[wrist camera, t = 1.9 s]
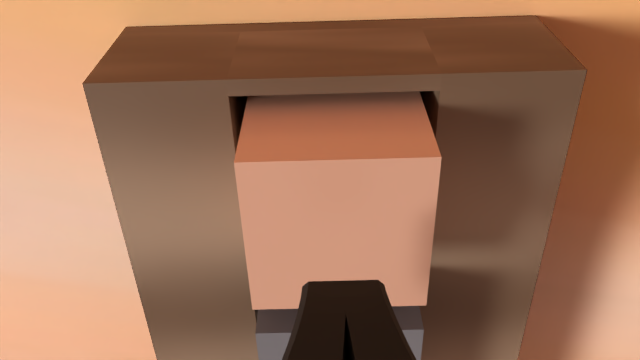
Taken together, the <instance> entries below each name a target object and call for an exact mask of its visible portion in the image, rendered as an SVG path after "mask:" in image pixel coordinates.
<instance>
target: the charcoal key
mask: <svg viewBox="0 0 640 360" xmlns="http://www.w3.org/2000/svg"><path fill="white" fill-rule="evenodd" d="M392 309H393V311H394V314H395V316H396V318H397V320H398V323H399V325H400V327H401V329H402V331H403V334H404V336H405V338H406V340H407V342H408V344H409V346H410V348H411V350H412V352H413V354H414V356H415V358H416V360H421V352H422V343H423V333H424V328H423V323H422V318H421V313H420V308H419V306H392ZM297 312H298V309H260V310H258V314H257V323H256V332H255V335H256V343H257V351H258V358H259V360H282V358H283V355H284V353H285V350H286V347H287V345H288V341H289V338H290V335H291V332H292V329H293V326H294V323H295V319H296V316H297Z"/></svg>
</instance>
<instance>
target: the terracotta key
mask: <svg viewBox="0 0 640 360" xmlns="http://www.w3.org/2000/svg"><path fill="white" fill-rule="evenodd" d="M441 159H442V157H441V154H440V151H439V148H438V145H437V142H436V139H435V136H434V133H433V130H432V127H431V124H430V121H429V118H428V115H427V112H426V109H425V106H424V103H423V100H422V98H421V95H420V92H419V91H408V92H371V93H334V94H297V95H260V96H248V98H247V103H246V107H245V112H244V117H243V121H242V126H241V131H240V136H239V140H238V145H237V150H236V154H235V159H234V168H235V176H236V184H237V192H238V200H239V208H240V216H241V224H242V232H243V240H244V248H245V256H246V263H247V271H248V279H249V287H250V295H251V303H252V310H260V309H298V308H299V303H300V299H301V292H302V286H303V285H305V284H306V283H307V282H308V281H348V280H379V281H380V282H382V283H383V284H384V285H385V289H386V292H387V295H388V298H389V301H390V303H391V306H426V304H427V294H428V285H429V275H430V265H431V256H432V246H433V236H434V227H435V217H436V207H437V198H438V188H439V178H440V168H441Z"/></svg>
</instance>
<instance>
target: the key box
mask: <svg viewBox="0 0 640 360" xmlns="http://www.w3.org/2000/svg"><path fill="white" fill-rule="evenodd" d="M586 72H587V69H586V68H585V67H584V66H583V65H582V64H581V63H580V62H579V61H578V60H577V59H576V58H575V57H574V56H573V54H572V53H571V52H570V51H569V50H568V49H567V48H566V47H565V46H564V45H563V44H562V43H561V42H560V41H559V40H558V39H557V38H556V36H555V35H554V34H553V33H552V32H551V31H550V30H549V29H548V28H547V27H546V26H545V25H544V24H543V23H542V22H541V21H540V20H539V19H538V17H537V16H506V17H470V18H435V19H399V20H363V21H328V22H292V23H257V24H221V25H185V26H150V27H126V28H125V29H124V30H123V32H122V33H121V34H120V35H119V37H118V38H117V39H116V41H115V42H114V43H113V45H112V46H111V47H110V48H109V50H108V51H107V52H106V54H105V55H104V56H103V58H102V59H101V60H100V61H99V63H98V64H97V65H96V67H95V68H94V69H93V71H92V72H91V73H90V74H89V76H88V77H87V78H86V80H85V81H84V82H83V87H84V91H85V95H86V99H87V102H88V106H89V110H90V113H91V117H92V121H93V124H94V128H95V132H96V136H97V139H98V143H99V147H100V150H101V154H102V158H103V161H104V165H105V169H106V173H107V176H108V180H109V184H110V187H111V191H112V195H113V199H114V202H115V206H116V210H117V213H118V217H119V221H120V224H121V228H122V232H123V236H124V239H125V243H126V247H127V250H128V254H129V258H130V261H131V265H132V269H133V273H134V276H135V280H136V284H137V287H138V291H139V295H140V298H141V302H142V306H143V310H144V313H145V317H146V321H147V324H148V328H149V332H150V335H151V339H152V343H153V347H154V350H155V354H156V358H157V360H259V358H258V351H257V343H256V335H255V332H256V323H257V314H258V310H252V303H251V295H250V287H249V279H248V271H247V263H246V256H245V248H244V240H243V232H242V224H241V216H240V208H239V200H238V192H237V184H236V176H235V168H234V159H235V154H236V150H237V145H238V140H239V136H240V131H241V126H242V121H243V117H244V112H245V107H246V103H247V98H248V96H260V95H297V94H334V93H371V92H408V91H419V92H420V95H421V98H422V100H423V103H424V106H425V109H426V112H427V115H428V118H429V121H430V124H431V127H432V130H433V133H434V136H435V139H436V142H437V145H438V148H439V151H440V154H441V157H442V159H441V168H440V178H439V188H438V198H437V207H436V217H435V227H434V236H433V246H432V256H431V265H430V275H429V285H428V294H427V304H426V306H419V308H420V313H421V318H422V323H423V328H424V333H423V343H422V352H421V360H517V359H518V355H519V351H520V347H521V343H522V339H523V334H524V330H525V326H526V322H527V318H528V314H529V309H530V305H531V301H532V297H533V293H534V289H535V285H536V280H537V276H538V272H539V268H540V264H541V260H542V255H543V251H544V247H545V243H546V239H547V235H548V230H549V226H550V222H551V218H552V214H553V210H554V205H555V201H556V197H557V193H558V189H559V185H560V180H561V176H562V172H563V168H564V164H565V160H566V155H567V151H568V147H569V143H570V139H571V135H572V130H573V126H574V122H575V118H576V114H577V110H578V106H579V101H580V97H581V93H582V89H583V85H584V81H585V76H586Z"/></svg>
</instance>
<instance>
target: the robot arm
mask: <svg viewBox="0 0 640 360" xmlns="http://www.w3.org/2000/svg"><path fill="white" fill-rule="evenodd" d="M282 360H416V358H415V356H414V354H413V352H412V350H411V348H410V346H409V344H408V342H407V340H406V338H405V336H404V334H403V331H402V329H401V327H400V325H399V323H398V320H397V318H396V316H395V314H394V311H393V309H392V306H391V303H390V301H389V298H388V295H387V292H386V289H385V285H384V284H383V283H382V282H380V281H379V280H348V281H308V282H307V283H306V284H305V285H303V286H302V292H301V299H300V303H299V308H298V312H297V316H296V319H295V323H294V326H293V329H292V332H291V335H290V338H289V341H288V345H287V347H286V350H285V353H284V355H283V358H282Z"/></svg>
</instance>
